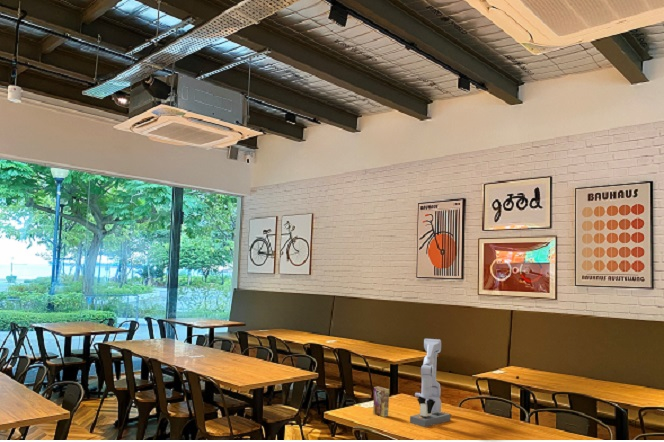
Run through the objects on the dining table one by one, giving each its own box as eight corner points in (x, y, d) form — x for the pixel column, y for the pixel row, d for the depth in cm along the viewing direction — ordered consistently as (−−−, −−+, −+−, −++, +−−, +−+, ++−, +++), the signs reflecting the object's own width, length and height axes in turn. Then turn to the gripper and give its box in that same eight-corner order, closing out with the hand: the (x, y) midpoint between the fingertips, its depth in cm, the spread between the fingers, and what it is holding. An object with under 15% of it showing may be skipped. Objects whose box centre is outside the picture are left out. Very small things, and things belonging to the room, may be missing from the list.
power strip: (436, 416, 302) (436, 409, 302) (450, 420, 294) (450, 413, 295) (410, 422, 286) (410, 415, 286) (424, 427, 278) (424, 419, 279)
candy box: (388, 416, 297) (389, 389, 299) (383, 417, 294) (384, 389, 296) (377, 412, 304) (378, 386, 305) (372, 413, 301) (373, 386, 303)
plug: (425, 414, 289) (426, 402, 290) (431, 416, 286) (431, 404, 287) (419, 415, 286) (420, 403, 286) (425, 417, 283) (426, 405, 284)
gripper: (411, 385, 290) (411, 410, 289) (433, 390, 280) (432, 416, 278) (419, 384, 295) (418, 408, 294) (440, 389, 285) (440, 414, 283)
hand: (426, 412), depth 286 cm, fingers closed on plug, 4 cm apart
